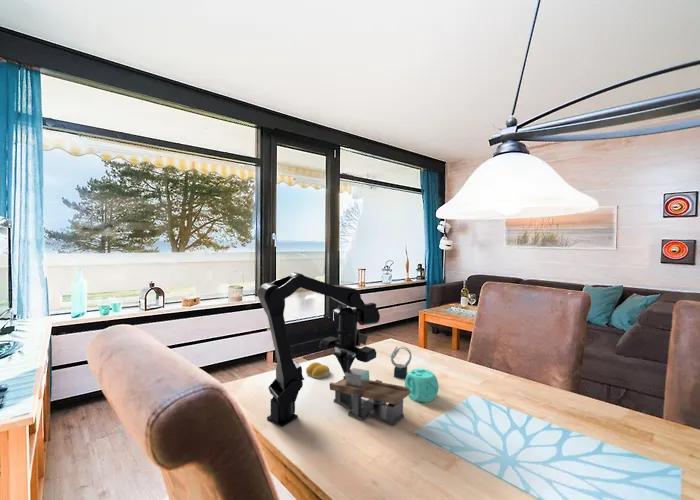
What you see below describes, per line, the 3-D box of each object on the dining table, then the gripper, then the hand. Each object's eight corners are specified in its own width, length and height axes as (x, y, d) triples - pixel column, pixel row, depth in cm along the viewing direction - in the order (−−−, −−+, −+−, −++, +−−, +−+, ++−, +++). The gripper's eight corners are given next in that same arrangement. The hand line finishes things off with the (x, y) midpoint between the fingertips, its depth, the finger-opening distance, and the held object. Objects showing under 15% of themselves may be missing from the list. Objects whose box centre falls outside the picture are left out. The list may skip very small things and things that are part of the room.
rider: (345, 386, 109) (344, 372, 109) (354, 381, 112) (353, 367, 112) (361, 390, 105) (360, 375, 105) (369, 384, 109) (368, 370, 109)
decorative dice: (438, 399, 113) (439, 375, 113) (419, 404, 110) (419, 379, 109) (422, 389, 121) (423, 366, 120) (404, 394, 117) (404, 370, 116)
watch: (391, 371, 136) (391, 343, 136) (411, 373, 134) (412, 345, 134) (388, 376, 131) (389, 347, 130) (410, 379, 129) (411, 350, 128)
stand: (326, 406, 108) (326, 384, 108) (352, 391, 118) (352, 371, 118) (387, 431, 94) (387, 407, 94) (410, 412, 105) (410, 390, 105)
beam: (329, 389, 110) (329, 383, 110) (345, 381, 117) (345, 375, 117) (395, 404, 96) (395, 397, 96) (409, 394, 102) (408, 387, 102)
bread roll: (319, 381, 127) (319, 370, 127) (302, 374, 132) (302, 364, 132) (334, 374, 133) (334, 363, 133) (317, 368, 139) (317, 358, 139)
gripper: (386, 327, 111) (384, 374, 112) (340, 316, 122) (339, 360, 123) (367, 335, 102) (365, 387, 103) (319, 323, 113) (318, 369, 114)
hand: (346, 374), depth 111 cm, fingers closed
